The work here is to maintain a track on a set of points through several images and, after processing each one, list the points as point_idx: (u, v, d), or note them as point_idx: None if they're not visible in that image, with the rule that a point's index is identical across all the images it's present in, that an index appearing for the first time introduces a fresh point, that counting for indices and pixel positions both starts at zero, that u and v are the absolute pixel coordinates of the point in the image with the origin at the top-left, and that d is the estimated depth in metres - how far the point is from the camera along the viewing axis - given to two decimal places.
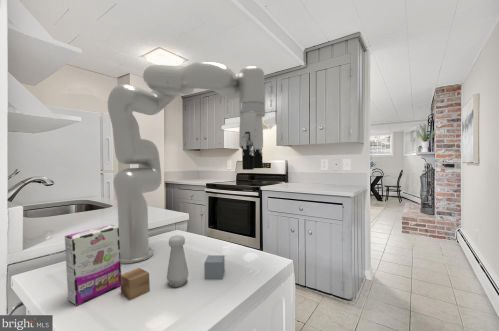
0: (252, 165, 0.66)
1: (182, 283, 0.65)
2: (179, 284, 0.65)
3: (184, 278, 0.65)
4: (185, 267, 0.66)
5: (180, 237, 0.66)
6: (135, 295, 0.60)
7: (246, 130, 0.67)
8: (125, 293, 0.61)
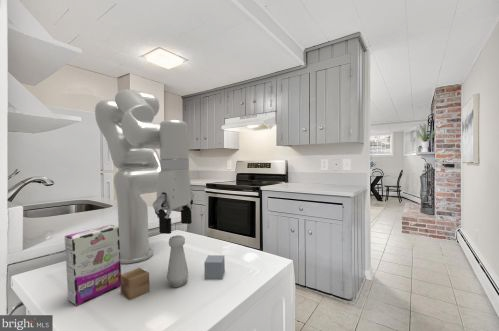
0: (169, 229, 0.61)
1: (182, 283, 0.65)
2: (179, 284, 0.65)
3: (184, 278, 0.65)
4: (185, 267, 0.66)
5: (180, 237, 0.66)
6: (135, 295, 0.60)
7: (163, 191, 0.61)
8: (125, 293, 0.61)
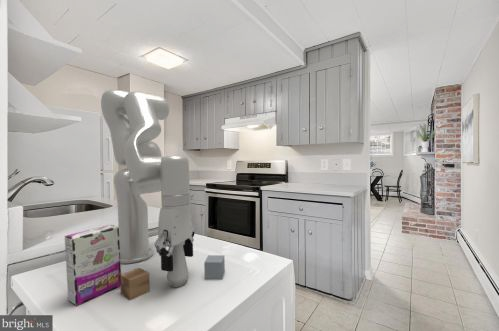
0: (171, 267, 0.61)
1: (182, 283, 0.65)
2: (179, 284, 0.65)
3: (184, 278, 0.65)
4: (185, 267, 0.66)
5: None
6: (135, 295, 0.60)
7: (164, 228, 0.61)
8: (125, 293, 0.61)
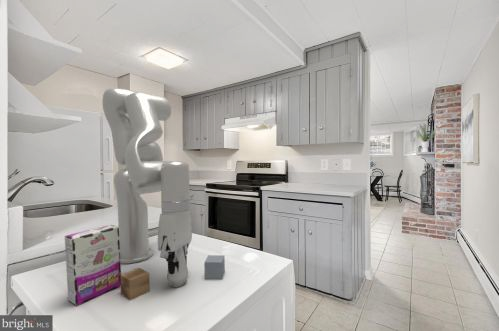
0: None
1: (182, 283, 0.65)
2: (179, 284, 0.65)
3: (184, 278, 0.65)
4: (185, 267, 0.66)
5: None
6: (135, 295, 0.60)
7: (164, 234, 0.62)
8: (125, 293, 0.61)
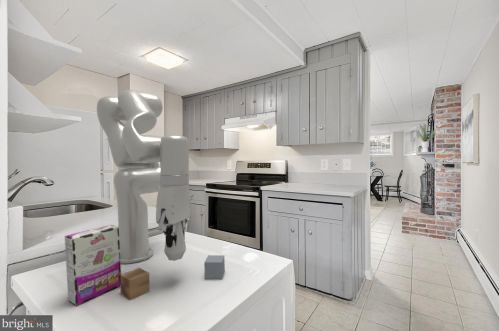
0: None
1: (179, 257, 0.66)
2: (176, 258, 0.65)
3: (181, 252, 0.65)
4: (183, 242, 0.66)
5: None
6: (135, 295, 0.60)
7: (162, 207, 0.62)
8: (125, 293, 0.61)
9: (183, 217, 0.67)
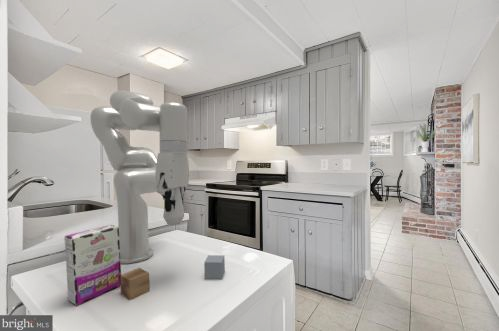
0: None
1: (178, 222, 0.68)
2: (175, 222, 0.67)
3: (180, 217, 0.67)
4: (181, 207, 0.68)
5: None
6: (135, 295, 0.60)
7: (161, 171, 0.64)
8: (125, 293, 0.61)
9: (182, 184, 0.69)
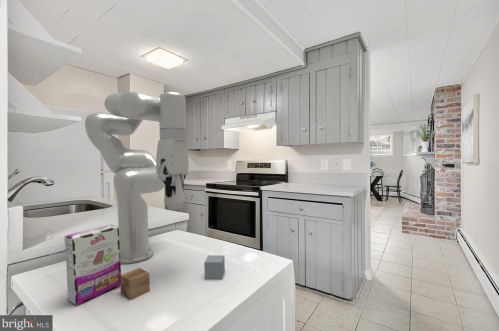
0: None
1: (179, 207, 0.70)
2: (176, 208, 0.69)
3: (181, 202, 0.69)
4: (182, 193, 0.70)
5: None
6: (135, 295, 0.60)
7: (162, 157, 0.66)
8: (125, 293, 0.60)
9: (182, 170, 0.71)
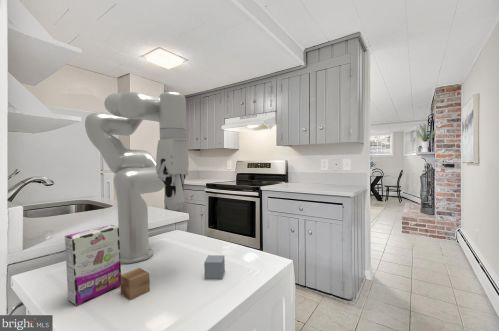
0: None
1: (179, 207, 0.70)
2: (176, 208, 0.69)
3: (181, 202, 0.69)
4: (182, 193, 0.70)
5: None
6: (135, 295, 0.60)
7: (162, 157, 0.66)
8: (125, 293, 0.60)
9: (182, 170, 0.71)
